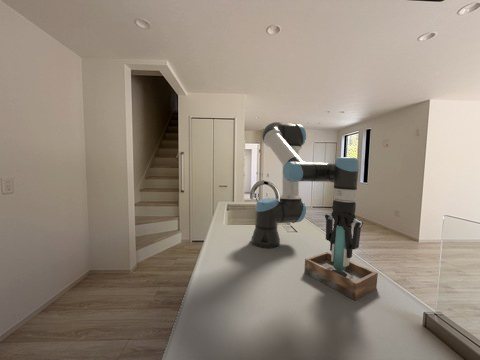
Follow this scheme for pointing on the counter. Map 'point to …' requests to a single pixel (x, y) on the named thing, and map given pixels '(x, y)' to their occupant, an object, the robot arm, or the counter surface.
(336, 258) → the peg
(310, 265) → the box
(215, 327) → the counter surface
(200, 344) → the counter surface
